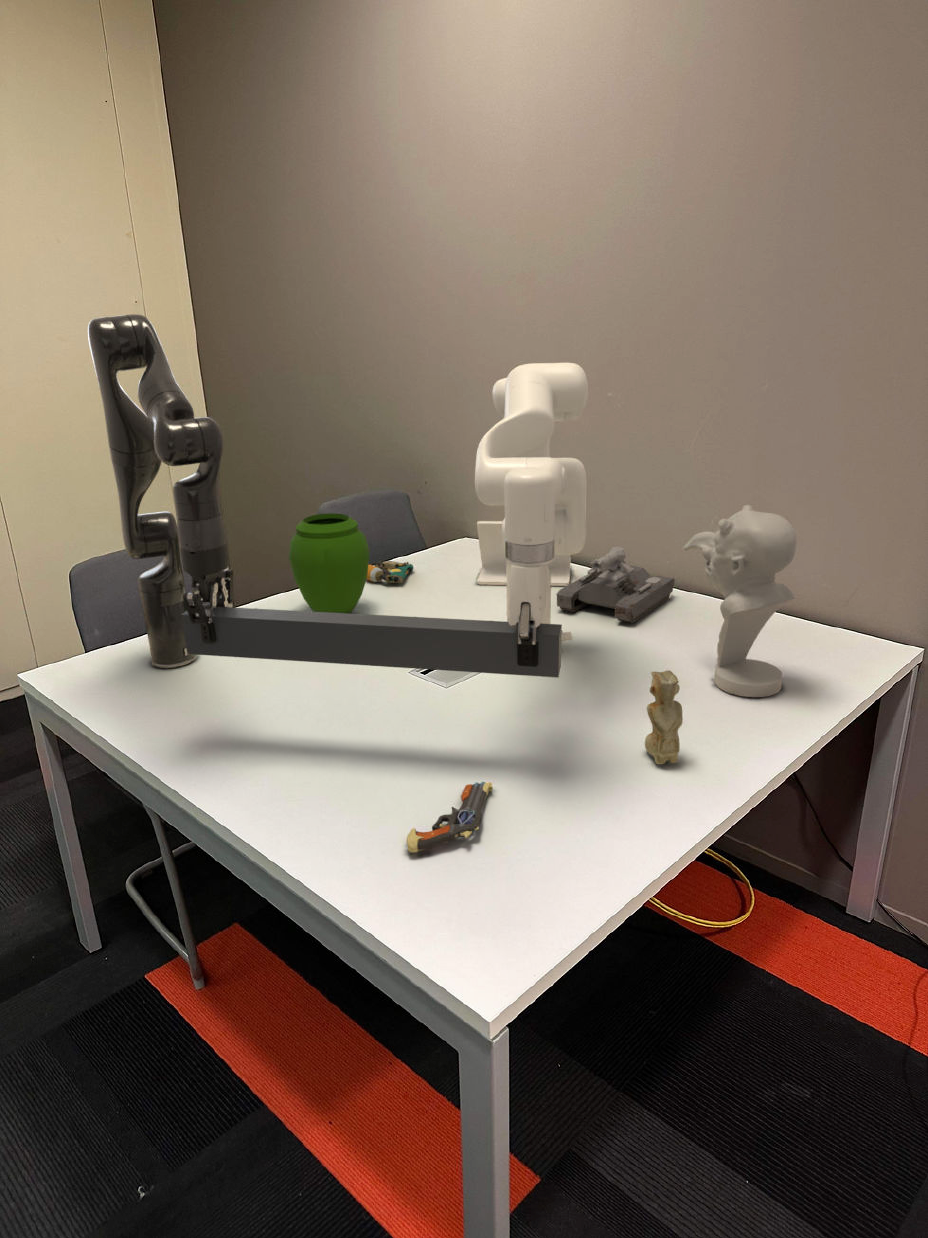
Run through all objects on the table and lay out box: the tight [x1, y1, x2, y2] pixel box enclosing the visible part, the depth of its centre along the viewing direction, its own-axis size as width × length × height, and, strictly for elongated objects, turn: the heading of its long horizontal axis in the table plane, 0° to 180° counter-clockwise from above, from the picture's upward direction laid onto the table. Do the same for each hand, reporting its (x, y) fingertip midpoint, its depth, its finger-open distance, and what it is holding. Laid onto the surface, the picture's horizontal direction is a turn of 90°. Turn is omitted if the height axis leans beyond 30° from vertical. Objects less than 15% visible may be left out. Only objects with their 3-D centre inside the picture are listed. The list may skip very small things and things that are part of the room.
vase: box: [288, 512, 370, 614], centre depth 209 cm, size 20×20×24 cm
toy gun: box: [406, 781, 494, 853], centre depth 127 cm, size 3×19×10 cm
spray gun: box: [366, 560, 414, 584], centre depth 240 cm, size 4×17×15 cm
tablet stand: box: [476, 520, 572, 587], centre depth 236 cm, size 18×25×17 cm
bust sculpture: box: [682, 504, 797, 698], centre depth 167 cm, size 16×24×35 cm, turn 28°
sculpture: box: [644, 669, 684, 765], centre depth 141 cm, size 6×7×15 cm
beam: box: [181, 606, 563, 679], centre depth 142 cm, size 64×4×7 cm, turn 79°
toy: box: [556, 546, 676, 624], centre depth 212 cm, size 25×20×15 cm
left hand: (216, 636), depth 147 cm, fingers closed on beam, 4 cm apart
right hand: (529, 657), depth 137 cm, fingers closed on beam, 4 cm apart
